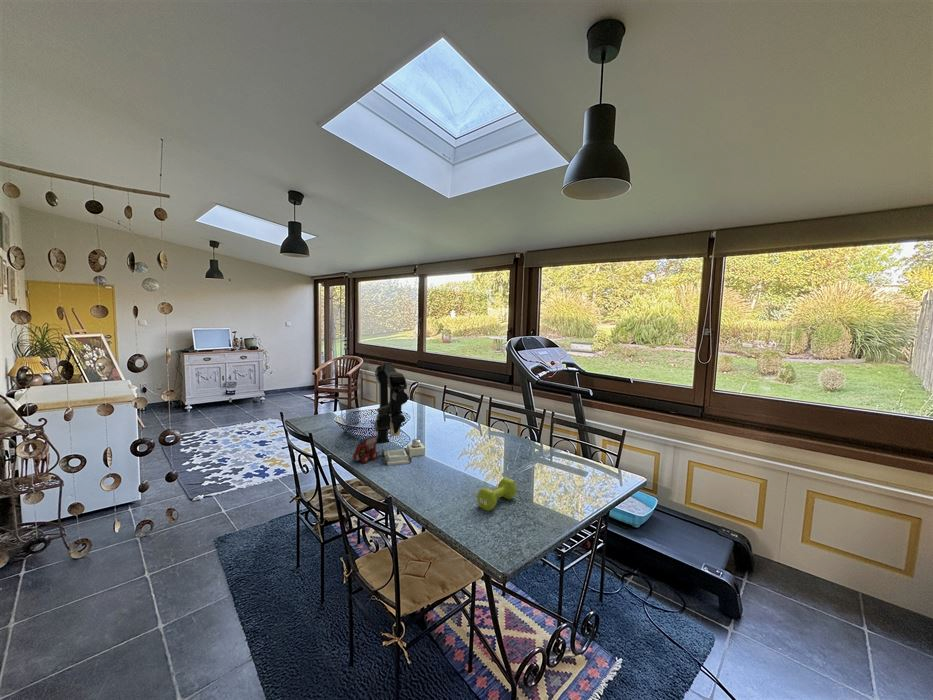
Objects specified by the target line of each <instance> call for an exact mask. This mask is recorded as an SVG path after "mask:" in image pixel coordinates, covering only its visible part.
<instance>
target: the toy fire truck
mask: <svg viewBox="0 0 933 700" xmlns="http://www.w3.org/2000/svg"><path fill="white" fill-rule="evenodd" d="M378 456H379V452H378V451H377V435H372V436H369V437H366V438H364V439H361V440H359V443H358V444H357V446H356V448H355V450H354V453H353V455H352V459H353V460H354V461H355V462H358V461H361V463H363V464H367V463H368V462H369V460H372V461H375V460H377V459H378Z"/></svg>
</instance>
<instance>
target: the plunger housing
mask: <svg viewBox="0 0 933 700" xmlns="http://www.w3.org/2000/svg"><path fill="white" fill-rule="evenodd" d="M406 448H407V455H411V457H417V456H425V455H426V447H425V446H424V444H423V443H422V442H420V447H419V448H412V443H407V444H406Z"/></svg>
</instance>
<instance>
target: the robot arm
mask: <svg viewBox="0 0 933 700" xmlns="http://www.w3.org/2000/svg"><path fill="white" fill-rule="evenodd" d="M374 376H375V379H376V381H377V383H378V386H379V389H378V390H379V391H378V392H379V393H378V394H379V398H378V399H379V402H378V403H379V407H378V408H376V410H377V413H378V414H377V415H376V419H375V422H374V423H373V429H374V430H375V432H376V436H377V441H376V443H388V442H390V439H389V431H390V422H392V423H393V428H394V433H395V434H396V433H397V432H398V430H399V428H400V429H401V425H402V423H404V422H406V417H405V416H404V414H403V411H402V407H403V405H404V404H406V403H407V402H408V400H409V396H408V394H407V393H406V392H405V390H407V389H408V388H407V387H408V383H407V379H406V376H404V374H403V373H401V372H398V371H397V370H396V369H395V367H394V365H393V363H391V362H383V363H381V364H380V365H378V366H376V368H375V370H374Z"/></svg>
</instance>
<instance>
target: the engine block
mask: <svg viewBox="0 0 933 700" xmlns="http://www.w3.org/2000/svg"><path fill="white" fill-rule="evenodd" d="M400 430H401V427H400V428H399V430H398V432H397V433H396V434H395V433H394V428H393V423H392V422H390V430H389V434H390V437H399V436H400V434H401V432H400Z"/></svg>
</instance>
